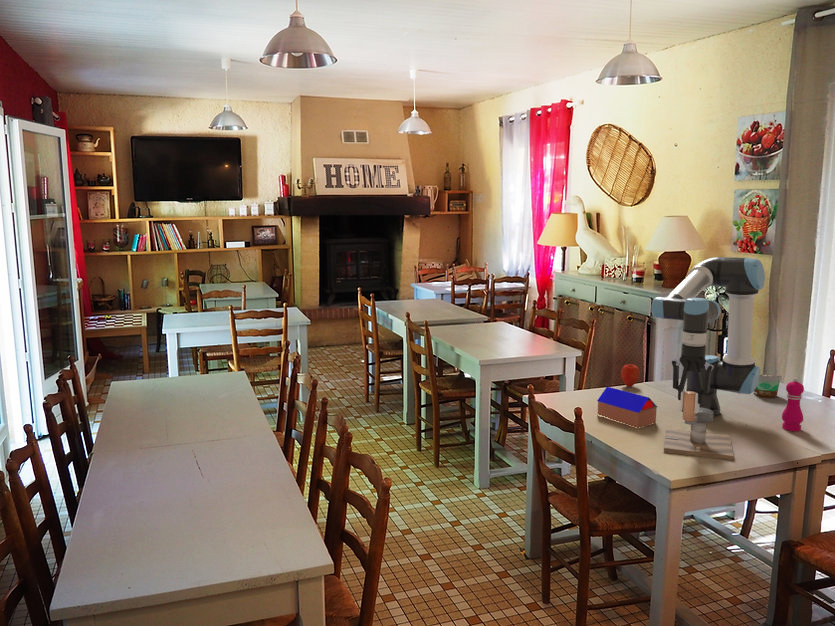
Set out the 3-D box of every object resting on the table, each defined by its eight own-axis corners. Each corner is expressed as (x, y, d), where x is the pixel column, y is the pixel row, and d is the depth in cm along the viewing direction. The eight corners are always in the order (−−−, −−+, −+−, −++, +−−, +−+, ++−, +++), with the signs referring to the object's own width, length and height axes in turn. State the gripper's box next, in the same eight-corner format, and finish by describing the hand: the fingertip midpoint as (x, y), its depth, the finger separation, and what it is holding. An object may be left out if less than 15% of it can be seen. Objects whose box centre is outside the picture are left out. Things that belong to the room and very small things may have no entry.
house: (615, 411, 284) (616, 384, 282) (656, 423, 268) (658, 394, 266) (596, 416, 277) (597, 388, 275) (638, 429, 261) (639, 400, 259)
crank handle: (690, 413, 247) (692, 382, 246) (716, 418, 242) (718, 386, 240) (673, 424, 235) (675, 391, 233) (699, 430, 229) (701, 396, 228)
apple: (641, 389, 316) (642, 366, 315) (622, 389, 317) (623, 366, 315) (636, 384, 325) (637, 362, 323) (618, 384, 325) (619, 362, 324)
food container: (752, 397, 302) (753, 375, 300) (749, 393, 308) (751, 372, 306) (783, 399, 298) (785, 377, 297) (780, 396, 304) (782, 374, 303)
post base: (665, 432, 257) (666, 408, 255) (729, 439, 249) (730, 414, 247) (663, 452, 236) (665, 425, 235) (733, 460, 229) (735, 433, 227)
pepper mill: (791, 432, 256) (795, 380, 253) (776, 426, 263) (780, 376, 260) (806, 430, 258) (811, 379, 255) (791, 425, 265) (796, 374, 261)
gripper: (664, 342, 232) (660, 408, 235) (717, 349, 221) (712, 418, 225) (671, 339, 237) (667, 403, 241) (723, 345, 227) (718, 413, 231)
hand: (689, 410), depth 233 cm, fingers closed on crank handle, 4 cm apart
